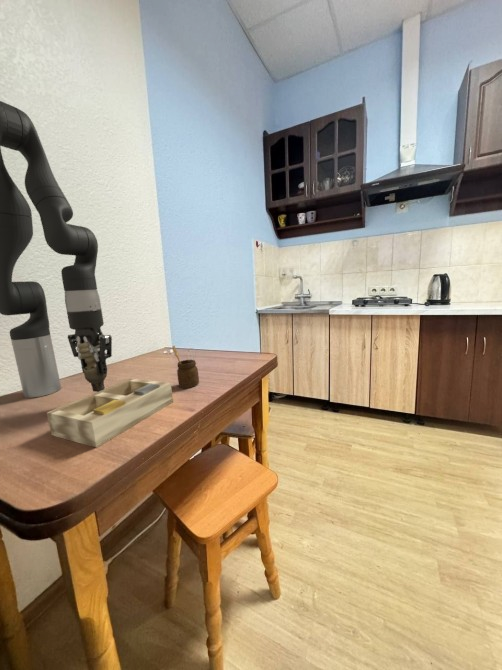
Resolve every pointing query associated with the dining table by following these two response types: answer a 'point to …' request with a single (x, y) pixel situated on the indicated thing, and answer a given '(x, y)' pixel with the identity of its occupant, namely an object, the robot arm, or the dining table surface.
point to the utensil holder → (187, 371)
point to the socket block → (109, 411)
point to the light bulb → (91, 367)
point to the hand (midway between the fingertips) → (95, 373)
